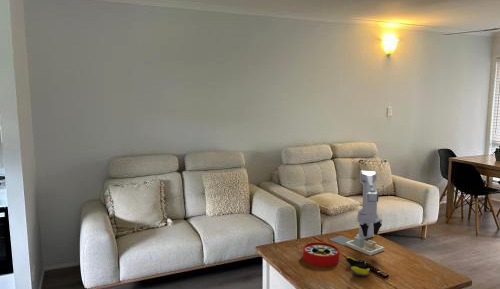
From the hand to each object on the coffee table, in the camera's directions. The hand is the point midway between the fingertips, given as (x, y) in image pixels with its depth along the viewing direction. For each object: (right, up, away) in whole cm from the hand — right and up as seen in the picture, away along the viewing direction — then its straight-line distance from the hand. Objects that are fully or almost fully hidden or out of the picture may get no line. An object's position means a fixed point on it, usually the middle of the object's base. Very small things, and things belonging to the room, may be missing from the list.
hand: (370, 235), depth 220 cm
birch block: (+1, -10, +3) cm, 10 cm away
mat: (-12, -8, +18) cm, 23 cm away
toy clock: (-31, -12, -8) cm, 34 cm away
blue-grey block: (-4, -9, +10) cm, 13 cm away
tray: (-1, -10, +6) cm, 12 cm away
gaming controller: (-14, -14, -24) cm, 31 cm away
